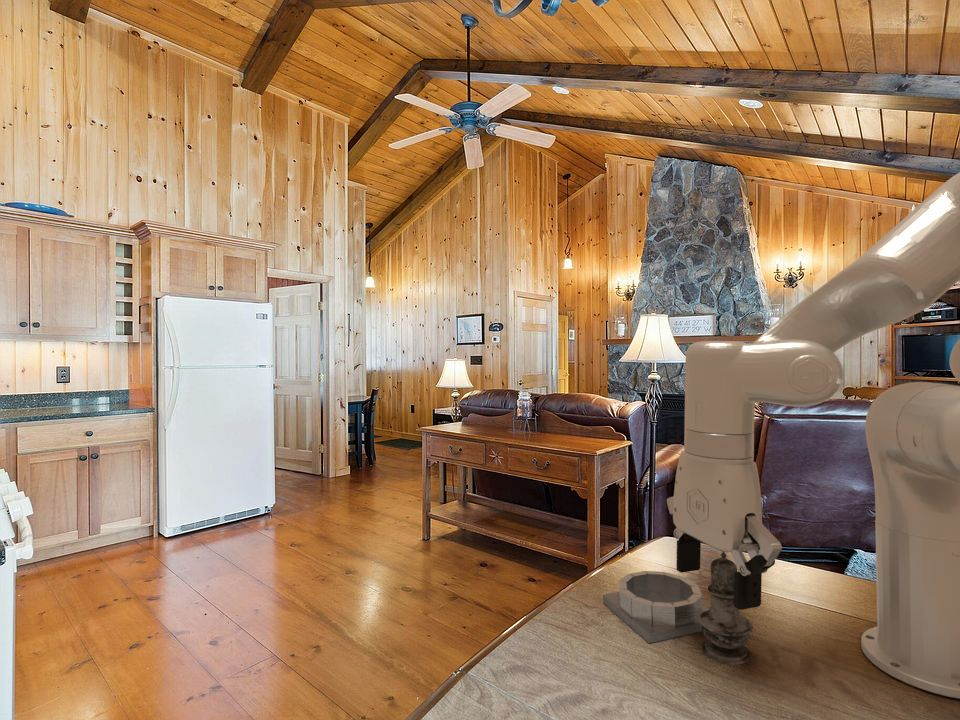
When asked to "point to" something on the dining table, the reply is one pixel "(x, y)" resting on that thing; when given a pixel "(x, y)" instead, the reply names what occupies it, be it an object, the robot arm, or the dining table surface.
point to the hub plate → (651, 629)
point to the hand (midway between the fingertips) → (715, 587)
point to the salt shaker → (724, 618)
